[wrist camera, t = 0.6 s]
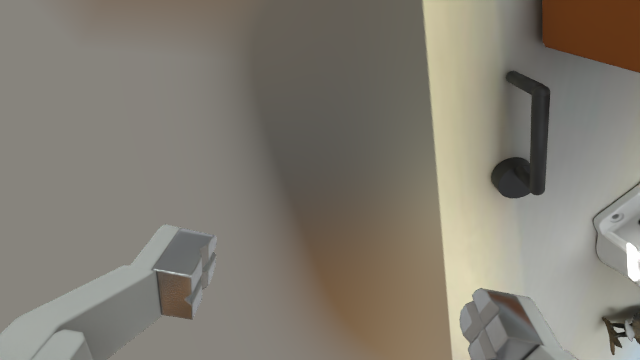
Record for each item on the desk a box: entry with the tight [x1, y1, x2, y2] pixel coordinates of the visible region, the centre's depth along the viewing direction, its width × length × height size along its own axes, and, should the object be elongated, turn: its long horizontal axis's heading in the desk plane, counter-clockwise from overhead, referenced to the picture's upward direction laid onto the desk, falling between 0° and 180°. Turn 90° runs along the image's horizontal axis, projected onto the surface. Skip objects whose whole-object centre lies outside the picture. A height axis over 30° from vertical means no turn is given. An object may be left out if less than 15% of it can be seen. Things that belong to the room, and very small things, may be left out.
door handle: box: [491, 71, 550, 198], centre depth 35 cm, size 16×5×7 cm, turn 18°
